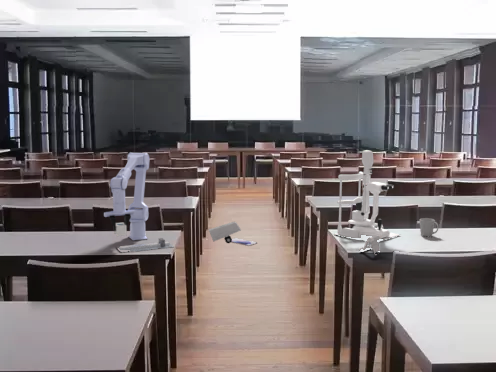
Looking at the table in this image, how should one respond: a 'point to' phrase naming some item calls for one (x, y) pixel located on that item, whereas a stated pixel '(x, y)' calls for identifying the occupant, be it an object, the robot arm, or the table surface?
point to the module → (120, 229)
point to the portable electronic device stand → (373, 243)
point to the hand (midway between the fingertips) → (120, 230)
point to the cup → (427, 226)
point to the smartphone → (243, 242)
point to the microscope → (364, 204)
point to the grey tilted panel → (224, 231)
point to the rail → (147, 246)
